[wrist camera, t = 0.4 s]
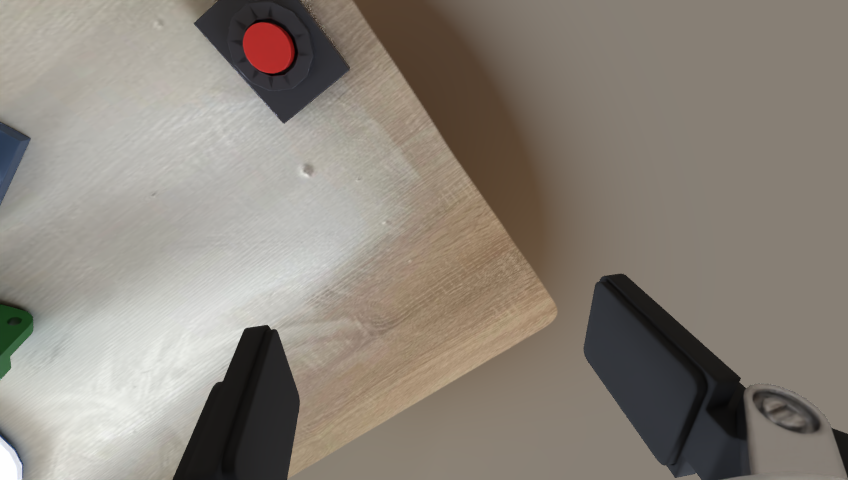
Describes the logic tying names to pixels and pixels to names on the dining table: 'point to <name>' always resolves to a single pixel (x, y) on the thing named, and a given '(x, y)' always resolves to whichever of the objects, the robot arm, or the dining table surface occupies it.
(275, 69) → the button
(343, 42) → the dining table surface
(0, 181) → the bracket
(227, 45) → the button box
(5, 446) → the plate
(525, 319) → the dining table surface
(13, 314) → the green mounting block
